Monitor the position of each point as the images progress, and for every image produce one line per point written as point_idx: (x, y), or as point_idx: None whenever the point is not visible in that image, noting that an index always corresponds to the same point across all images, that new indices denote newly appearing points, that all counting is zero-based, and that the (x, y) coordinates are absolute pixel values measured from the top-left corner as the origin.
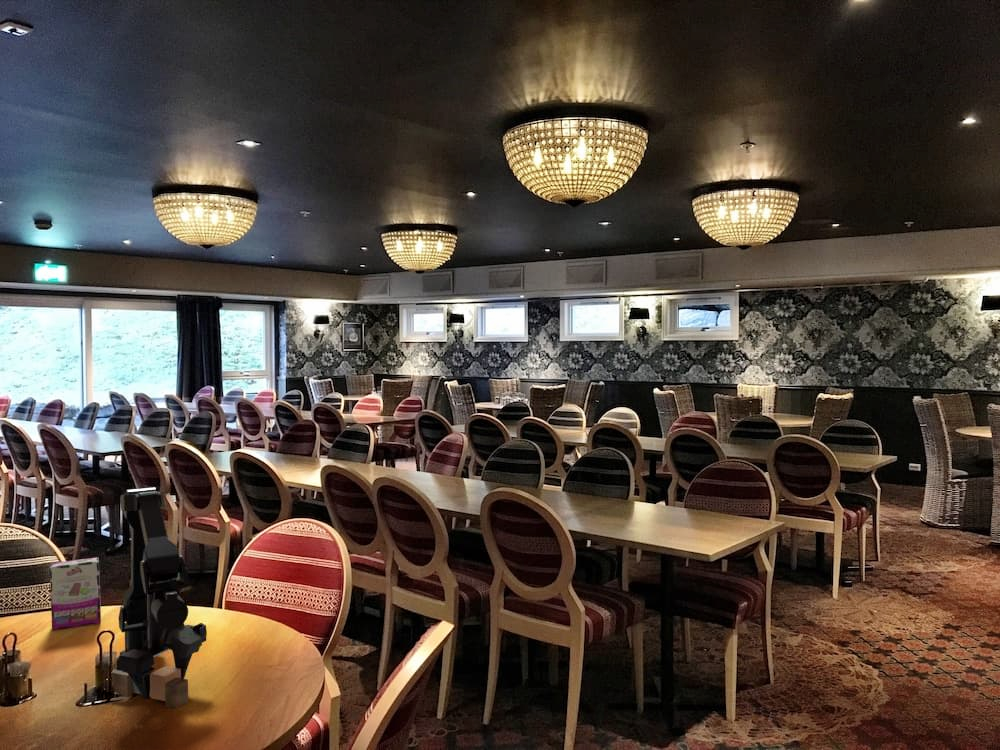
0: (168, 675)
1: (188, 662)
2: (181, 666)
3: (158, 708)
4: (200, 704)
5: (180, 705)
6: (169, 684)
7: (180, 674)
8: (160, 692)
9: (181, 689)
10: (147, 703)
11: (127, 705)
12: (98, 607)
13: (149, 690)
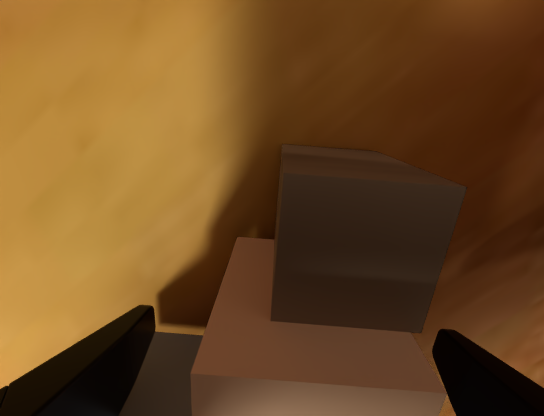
0: (400, 387)
1: (1, 398)
2: (85, 406)
3: None
4: (293, 29)
5: (349, 149)
6: (433, 282)
7: (213, 320)
8: None
9: (368, 166)
10: None
11: None
12: None
13: (493, 371)
